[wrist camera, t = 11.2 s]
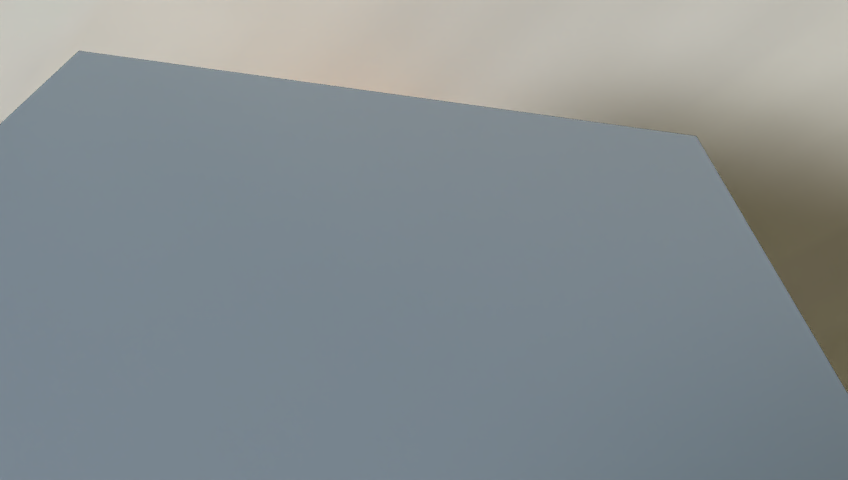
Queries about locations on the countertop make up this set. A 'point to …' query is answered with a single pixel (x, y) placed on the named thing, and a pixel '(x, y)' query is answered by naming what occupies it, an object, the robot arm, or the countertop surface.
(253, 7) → the countertop surface
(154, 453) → the grey-blue cube
